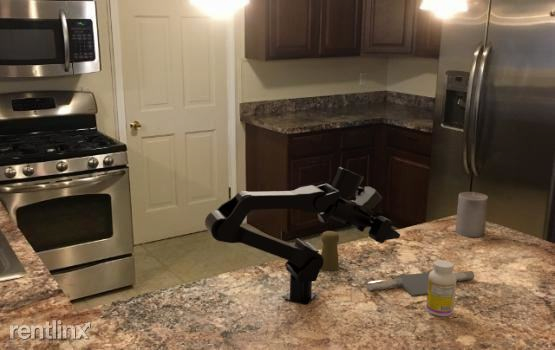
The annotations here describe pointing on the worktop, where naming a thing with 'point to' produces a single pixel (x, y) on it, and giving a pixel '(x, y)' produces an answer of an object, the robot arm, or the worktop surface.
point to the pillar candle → (471, 214)
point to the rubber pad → (415, 283)
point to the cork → (330, 251)
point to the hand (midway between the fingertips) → (389, 230)
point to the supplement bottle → (441, 289)
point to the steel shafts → (399, 282)
